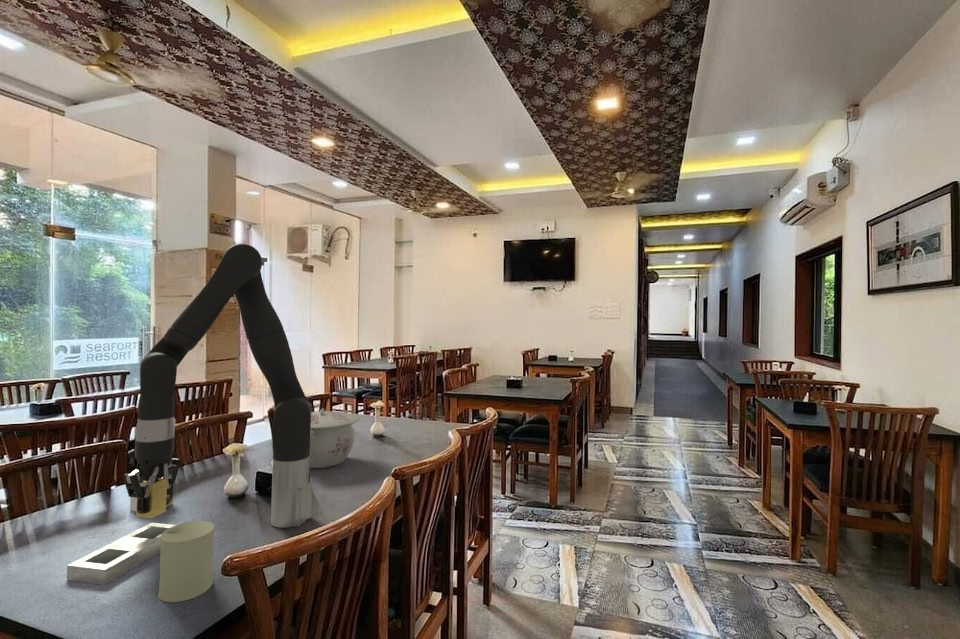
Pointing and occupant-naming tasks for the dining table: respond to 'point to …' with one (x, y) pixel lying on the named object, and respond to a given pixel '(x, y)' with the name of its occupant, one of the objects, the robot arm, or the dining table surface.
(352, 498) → the dining table surface
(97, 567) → the rail
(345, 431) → the chamber pot
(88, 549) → the dining table surface
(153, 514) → the yellow block
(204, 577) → the can
